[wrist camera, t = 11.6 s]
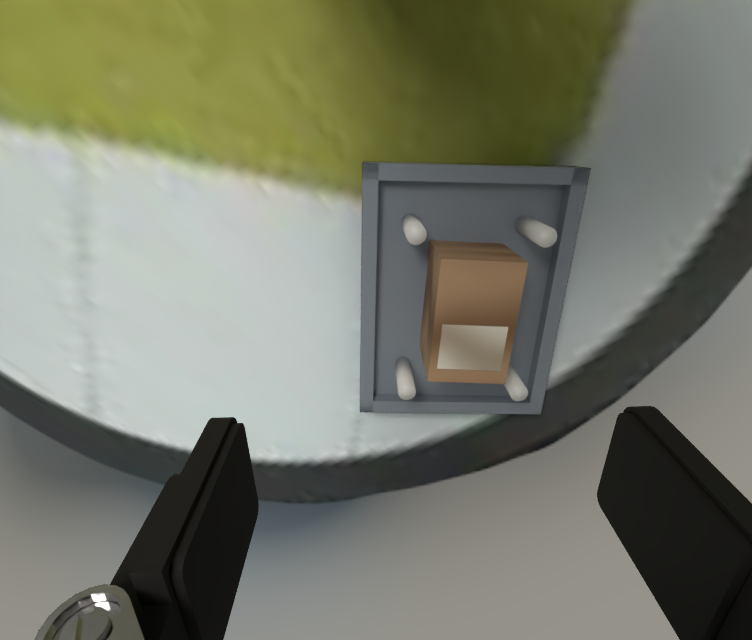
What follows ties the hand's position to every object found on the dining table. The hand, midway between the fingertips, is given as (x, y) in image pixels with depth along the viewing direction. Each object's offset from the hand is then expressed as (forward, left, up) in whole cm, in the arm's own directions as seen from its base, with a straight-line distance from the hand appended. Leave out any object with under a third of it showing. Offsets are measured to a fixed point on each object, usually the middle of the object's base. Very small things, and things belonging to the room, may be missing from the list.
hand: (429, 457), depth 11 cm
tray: (+3, +5, -21) cm, 22 cm away
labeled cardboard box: (+3, +5, -20) cm, 21 cm away
